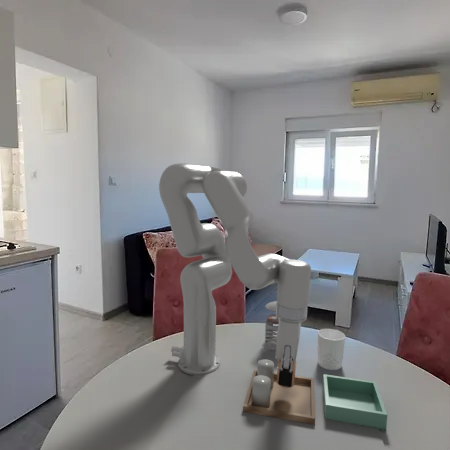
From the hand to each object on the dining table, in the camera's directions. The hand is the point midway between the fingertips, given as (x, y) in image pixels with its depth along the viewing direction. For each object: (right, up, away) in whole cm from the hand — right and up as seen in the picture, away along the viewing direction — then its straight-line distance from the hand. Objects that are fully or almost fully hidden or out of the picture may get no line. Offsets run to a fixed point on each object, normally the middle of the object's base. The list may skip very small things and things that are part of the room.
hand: (285, 378), depth 84 cm
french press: (+3, -2, +28) cm, 28 cm away
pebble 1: (-5, -4, +5) cm, 8 cm away
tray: (-1, -5, 0) cm, 5 cm away
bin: (+16, -6, -3) cm, 17 cm away
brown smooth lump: (0, -1, 0) cm, 1 cm away
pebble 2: (-6, -5, -2) cm, 8 cm away
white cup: (+16, -4, +17) cm, 24 cm away
